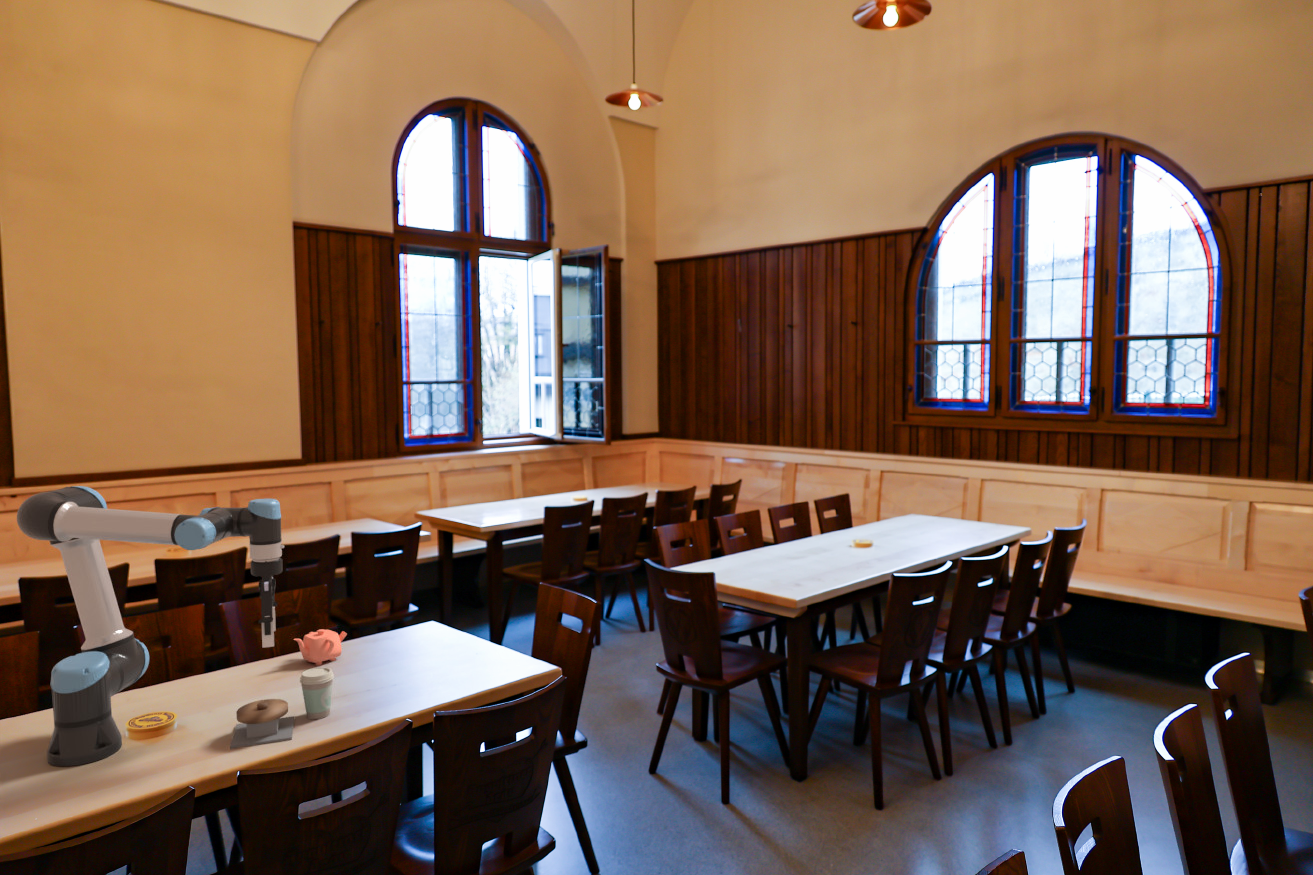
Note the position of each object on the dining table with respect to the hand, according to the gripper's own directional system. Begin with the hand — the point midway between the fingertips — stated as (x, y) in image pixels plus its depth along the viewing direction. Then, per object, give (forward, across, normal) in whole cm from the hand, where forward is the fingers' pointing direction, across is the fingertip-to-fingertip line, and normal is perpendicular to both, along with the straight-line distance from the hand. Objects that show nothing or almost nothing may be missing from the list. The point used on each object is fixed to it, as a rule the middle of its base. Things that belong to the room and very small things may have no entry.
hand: (269, 638), depth 218 cm
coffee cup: (+23, +2, -11) cm, 26 cm away
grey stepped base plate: (+23, -4, +2) cm, 24 cm away
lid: (+18, -4, +2) cm, 19 cm away
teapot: (+24, +48, -13) cm, 55 cm away
